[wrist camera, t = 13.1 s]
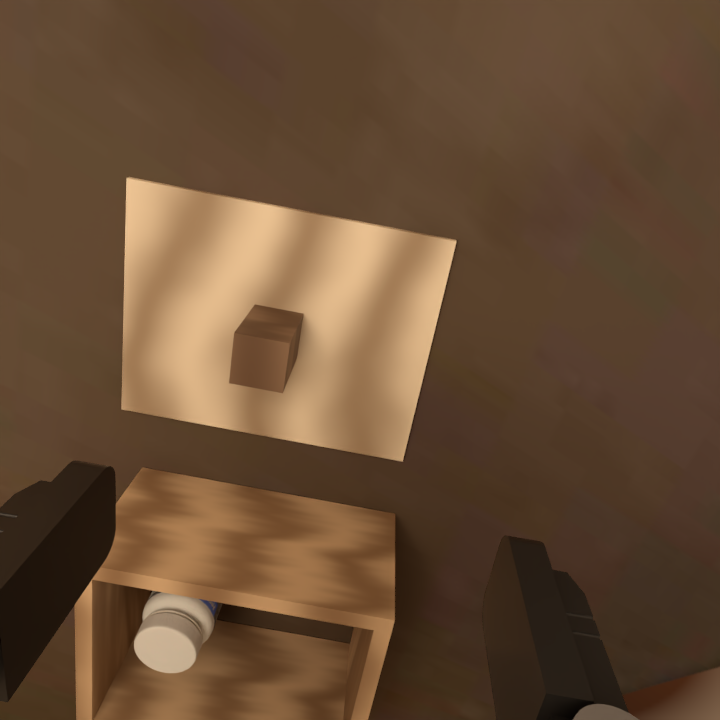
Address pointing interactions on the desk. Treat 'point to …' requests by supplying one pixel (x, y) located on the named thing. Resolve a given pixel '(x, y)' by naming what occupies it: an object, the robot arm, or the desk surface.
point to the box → (238, 603)
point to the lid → (277, 318)
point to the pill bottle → (174, 631)
